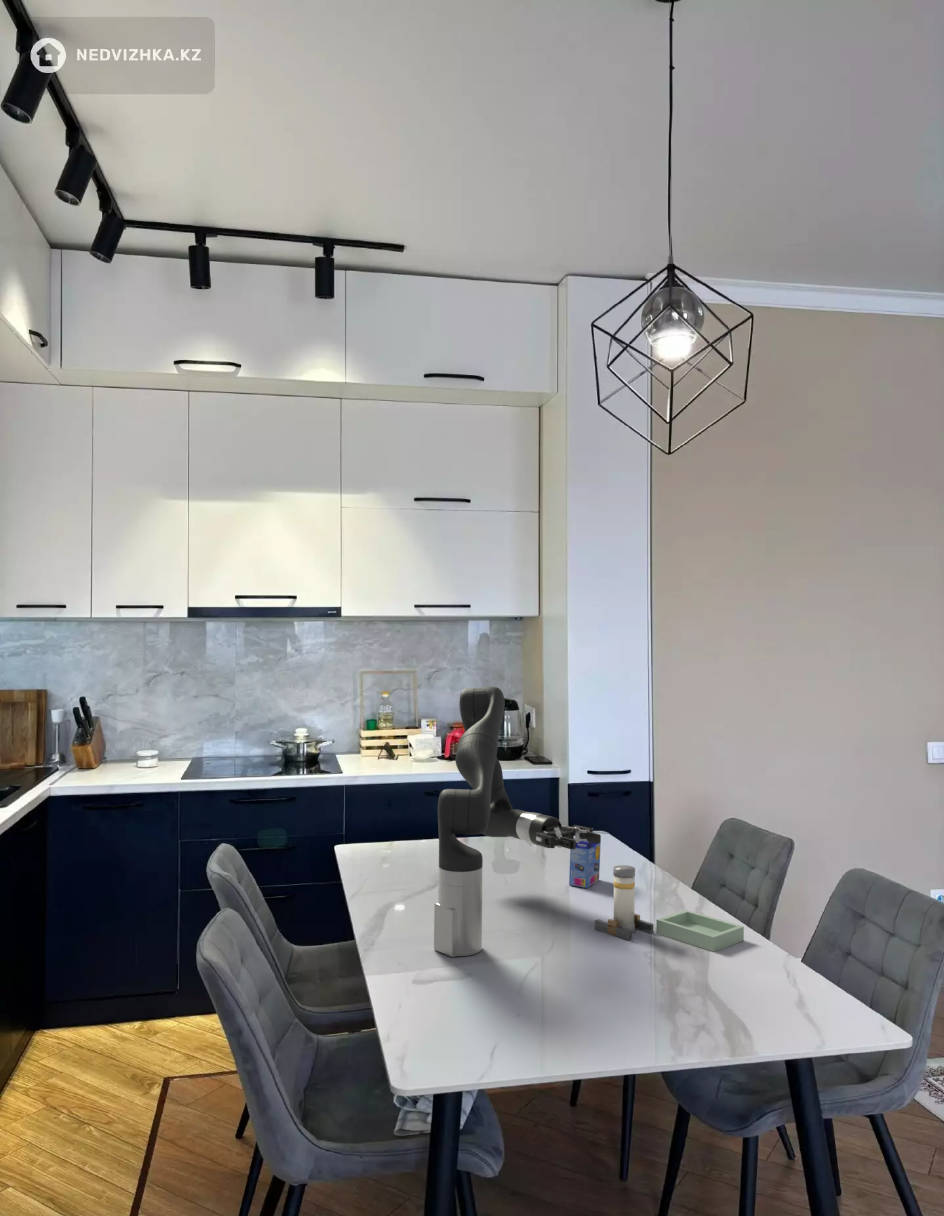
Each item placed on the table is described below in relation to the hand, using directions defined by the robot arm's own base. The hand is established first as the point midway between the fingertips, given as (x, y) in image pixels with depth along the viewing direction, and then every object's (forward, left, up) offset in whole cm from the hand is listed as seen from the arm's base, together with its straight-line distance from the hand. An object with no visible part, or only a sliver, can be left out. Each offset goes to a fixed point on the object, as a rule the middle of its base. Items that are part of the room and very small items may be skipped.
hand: (587, 842), depth 213 cm
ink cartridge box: (+22, +21, -18) cm, 35 cm away
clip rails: (0, -11, -18) cm, 21 cm away
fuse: (0, -11, -18) cm, 21 cm away
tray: (+10, -24, -18) cm, 32 cm away
